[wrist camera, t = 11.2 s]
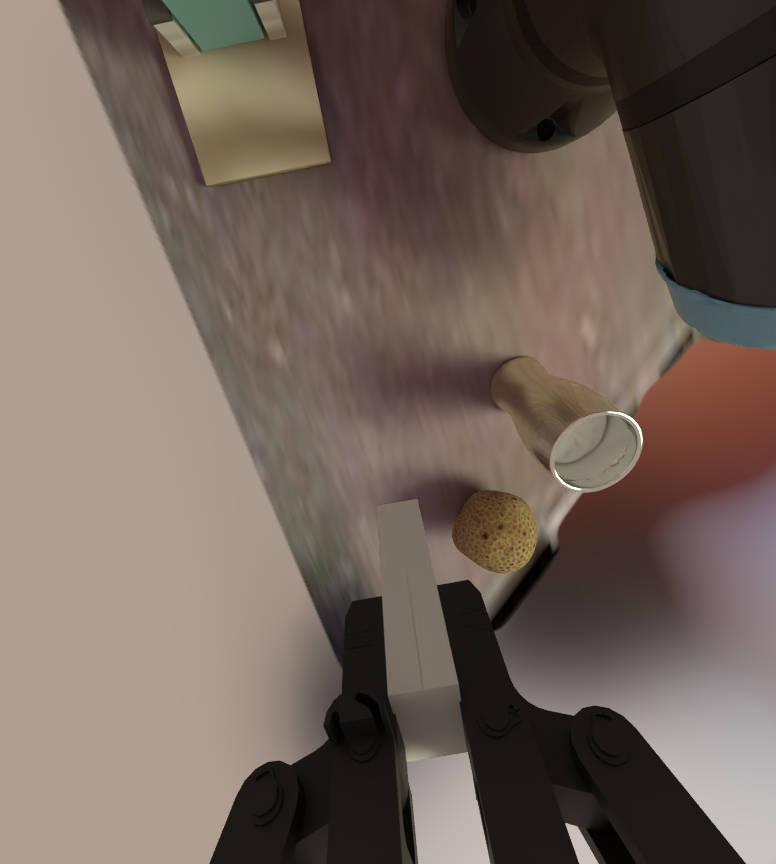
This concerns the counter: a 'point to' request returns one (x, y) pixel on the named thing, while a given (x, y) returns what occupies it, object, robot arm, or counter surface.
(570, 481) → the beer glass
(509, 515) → the natural sponge
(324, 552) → the counter surface
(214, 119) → the guide channel
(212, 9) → the teal block
